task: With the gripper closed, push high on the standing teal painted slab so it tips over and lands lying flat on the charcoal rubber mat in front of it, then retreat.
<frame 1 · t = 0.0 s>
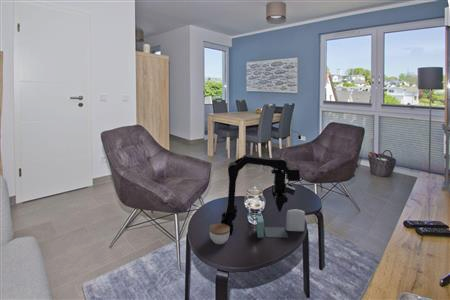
hand: (278, 207, 164), 15 cm above the table, fingers open, 9 cm apart
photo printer: (294, 230, 170), on the table
slab: (259, 233, 166), on the table
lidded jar: (219, 241, 157), on the table
mat: (275, 232, 167), on the table
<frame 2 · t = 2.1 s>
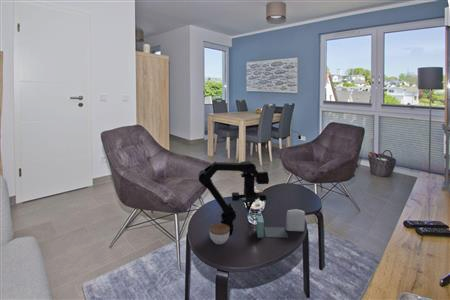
hand: (248, 210, 167), 12 cm above the table, fingers closed
nothing on the table moved.
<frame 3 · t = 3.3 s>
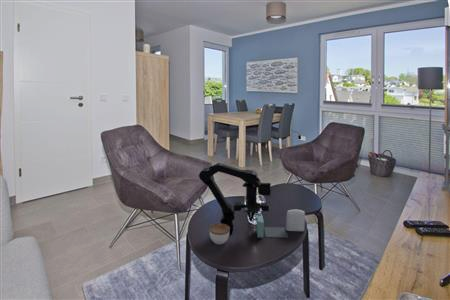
hand: (250, 221, 164), 8 cm above the table, fingers closed
nothing on the table moved.
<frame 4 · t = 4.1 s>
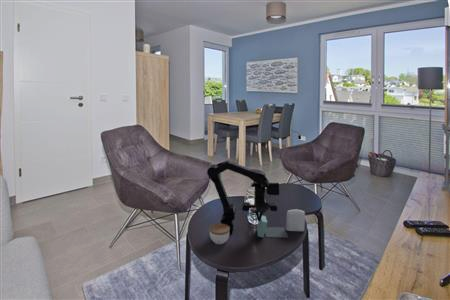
hand: (258, 221, 164), 8 cm above the table, fingers closed
slab: (259, 233, 166), on the table, tilted 12°
everything else where it was.
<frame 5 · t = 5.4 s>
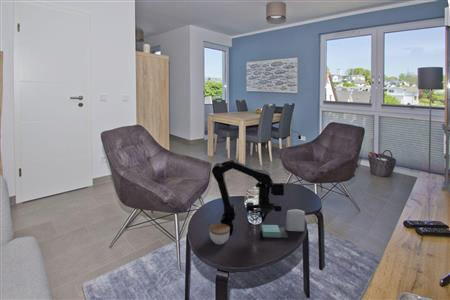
hand: (262, 221, 164), 7 cm above the table, fingers closed
slab: (262, 230, 165), point 2 cm above the table, tilted 90°, touching mat
everything else where it was.
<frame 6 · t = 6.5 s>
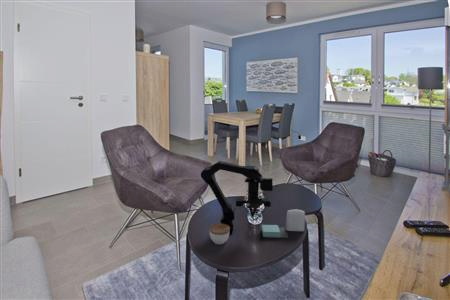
hand: (252, 216, 163), 10 cm above the table, fingers closed
nothing on the table moved.
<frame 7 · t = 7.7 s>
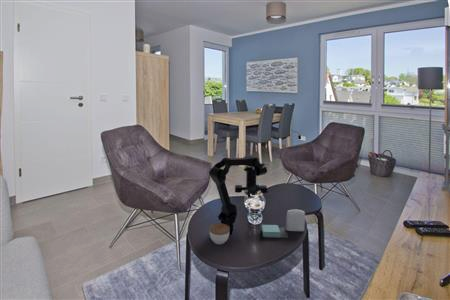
hand: (250, 202, 176), 13 cm above the table, fingers closed
nothing on the table moved.
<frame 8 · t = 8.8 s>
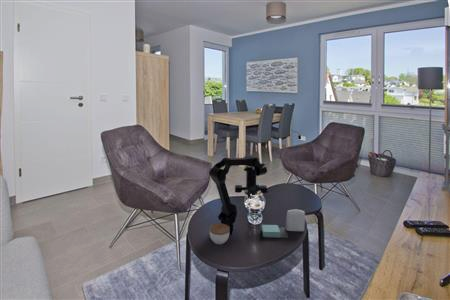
hand: (250, 202, 176), 12 cm above the table, fingers closed
nothing on the table moved.
at the end: slab tilted 90°; slab inside the target area (5.8 cm from its centre), point 1.9 cm above the table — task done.
